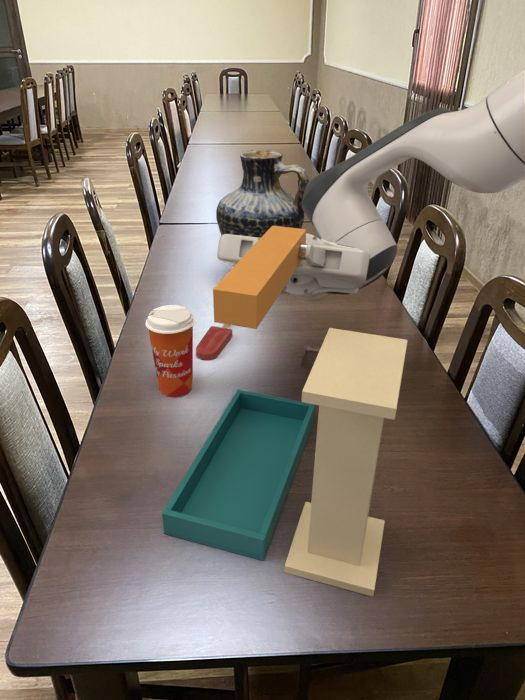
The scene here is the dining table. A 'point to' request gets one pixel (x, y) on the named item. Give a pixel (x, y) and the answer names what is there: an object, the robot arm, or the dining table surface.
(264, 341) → the dining table surface
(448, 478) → the dining table surface
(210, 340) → the popsicle
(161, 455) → the dining table surface
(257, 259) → the orange rectangular bar
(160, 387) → the paper cup
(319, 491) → the stand
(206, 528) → the tray
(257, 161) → the jug
